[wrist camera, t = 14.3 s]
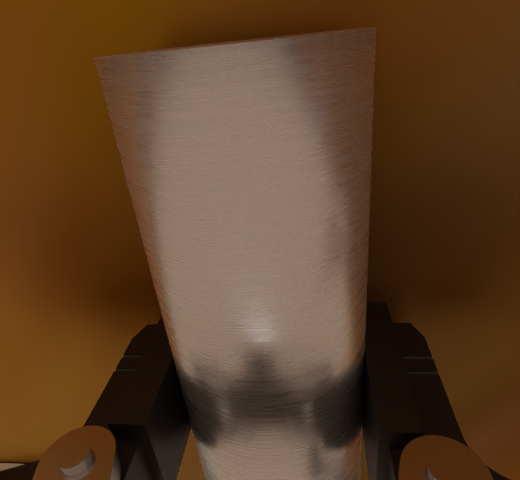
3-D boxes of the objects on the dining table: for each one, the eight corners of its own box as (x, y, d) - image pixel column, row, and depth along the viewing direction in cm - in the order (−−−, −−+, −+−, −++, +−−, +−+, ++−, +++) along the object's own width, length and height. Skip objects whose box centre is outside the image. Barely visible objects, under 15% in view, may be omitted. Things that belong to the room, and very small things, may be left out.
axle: (353, 516, 15) (360, 670, 11) (247, 505, 15) (223, 646, 12) (364, 26, 7) (397, 27, 4) (159, 49, 8) (27, 65, 4)
